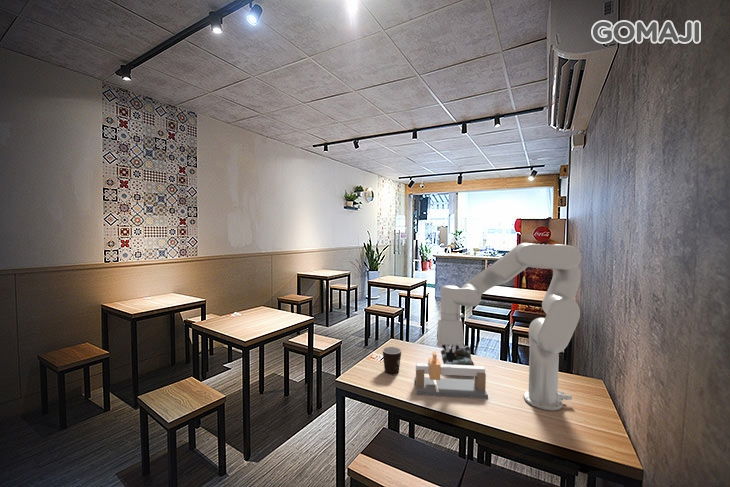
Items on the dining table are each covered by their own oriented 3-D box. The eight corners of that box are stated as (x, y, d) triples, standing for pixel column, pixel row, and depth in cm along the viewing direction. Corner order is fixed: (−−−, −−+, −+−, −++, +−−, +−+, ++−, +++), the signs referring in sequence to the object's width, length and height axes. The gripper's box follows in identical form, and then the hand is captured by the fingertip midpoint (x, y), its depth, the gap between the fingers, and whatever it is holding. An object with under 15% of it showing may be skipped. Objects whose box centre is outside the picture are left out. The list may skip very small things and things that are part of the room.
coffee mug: (390, 378, 136) (391, 355, 135) (378, 370, 143) (378, 349, 142) (409, 371, 143) (410, 349, 142) (397, 364, 149) (397, 344, 149)
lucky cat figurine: (438, 374, 139) (434, 342, 146) (447, 375, 148) (443, 345, 155) (471, 372, 132) (466, 338, 139) (479, 373, 141) (473, 342, 148)
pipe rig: (479, 383, 131) (479, 361, 131) (488, 398, 119) (488, 374, 119) (415, 380, 134) (415, 358, 133) (417, 394, 122) (417, 370, 121)
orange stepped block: (438, 373, 130) (438, 350, 129) (440, 380, 124) (440, 356, 123) (428, 372, 130) (428, 350, 130) (430, 379, 124) (430, 355, 124)
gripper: (466, 314, 128) (466, 357, 129) (430, 313, 130) (430, 356, 130) (471, 319, 121) (471, 365, 122) (432, 318, 122) (432, 364, 123)
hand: (450, 360), depth 126 cm, fingers closed
